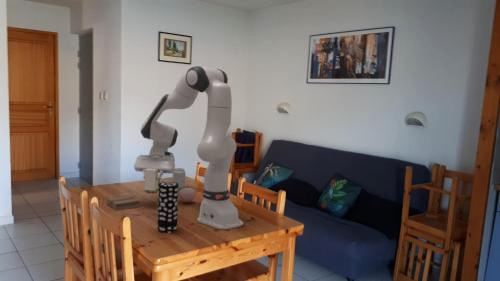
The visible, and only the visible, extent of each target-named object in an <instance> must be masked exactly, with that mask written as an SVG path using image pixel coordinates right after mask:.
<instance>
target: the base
mask: <svg viewBox="0 0 500 281" xmlns="http://www.w3.org/2000/svg"><path fill="white" fill-rule="evenodd" d="M140 202H141V201H140V200H139V199H137V198H135V197H134V196H131V195H124V196H116V197H108V198H106V204H107V205H108V206H109V207H111V208H112V209H114V210H115V211H121V210H128V209H134V208H135V209H136V208H140V207H141V205H140V204H141V203H140Z"/></svg>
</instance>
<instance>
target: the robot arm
mask: <svg viewBox="0 0 500 281" xmlns="http://www.w3.org/2000/svg"><path fill="white" fill-rule="evenodd" d="M228 82H229V81H228V75H227V74H226V72H225V71H224V70H222V69H219V68H214V67H210V66H192V67H190V68H189V69H188V70H186V71H185V72H183V75H182V76H181V77H180V79H179V80H178V82H177V84H176V87H174V90H173V91H171V92H170V93H167V94H165V95H163V97H161V99H160V100H159V102H158V103H157V104H156V106H155V107H154V109H153V110H152V112H151V113H150V115H148V117H147V118H146V120H144V122H143V123H142V125H141V128H140V134H141V136H142V137H143V138H144V139H147V140H151V141H152V146H151V148H150V150H149V153H148V154H146V155H145V154H140V155H138V156H137V157H136V159H135V160H136V161H135V162H134V165H133V169H134V170H135V172H142V173H143V179H144V180H145V170H146V169H148V168H150V169H158V175H156V180H159V179H160V177H161V178H162V177H163V175H164V174H172V175H173V172H174V170H175V168H176V163H175V161H176V160H175V159H176V158H175V156H174V153H172V152H171V151H168V150H169V149H171V148H172V147H174V146H175V145H176V143H177V140H178V136H179V133H178V130H177V128H174V127H173V126H170V125H168V124H164V123H162V122H159V121H158V120H159V118H160V117H161V115H162V114H163V113H164V112H165V111H166V110H185V109H189V108H191V106H193V104H195V101H196V99H197V98H198V96H199V93H204V92H205V94H206V97H207V108H206V109H207V110H206V112H207V113H206V123H205V129H204V132H203V136H202V138H201V140H200V142H199V144H198V146H197V148H196V149H197V150H196V153H197V156H198V158H199V159H200V160H201V161H203V162H205V163H208V165H207V168H206V169H205V171H204V177H203V178H204V182H203V189H202V197H203V198H202V201H201V203H200V207H199V208H200V209H199V215H198V217H197V218H196V222H199V223H200V224H203V225H206V226H209V227H212V228H215V229H218V230H229V229H235V228H239V227H242V226H243V225H244V222H243V221H242V220H241V219H240V218H239V211H238V208H237V207H236V206H235V205H234V204H233V202H232V201H231V199H230V196H231V193H230V191H229V187H228V186H229V174H230V169H231V168H230V167H231V165H232V164H231V163H232V161H233V156H234V155H235V153H236V151H237V142H236V140H235V139H234V138H233V137H231V136H227V133H228V130H229V128H230V126H231V123H232V105H233V104H232V103H233V102H232V100H233V99H232V91H231V86H229V84H228ZM160 180H161V179H160Z"/></svg>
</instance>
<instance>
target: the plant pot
mask: <svg viewBox="0 0 500 281" xmlns="http://www.w3.org/2000/svg"><path fill="white" fill-rule="evenodd" d="M161 180H162V176H161V177H160V179H159V180H158V186H159V183H161V182H160V181H161ZM146 191H147V193H150V194H151V193H153V194H154V193H158V189H156V190H155V191H154V190H146Z"/></svg>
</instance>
